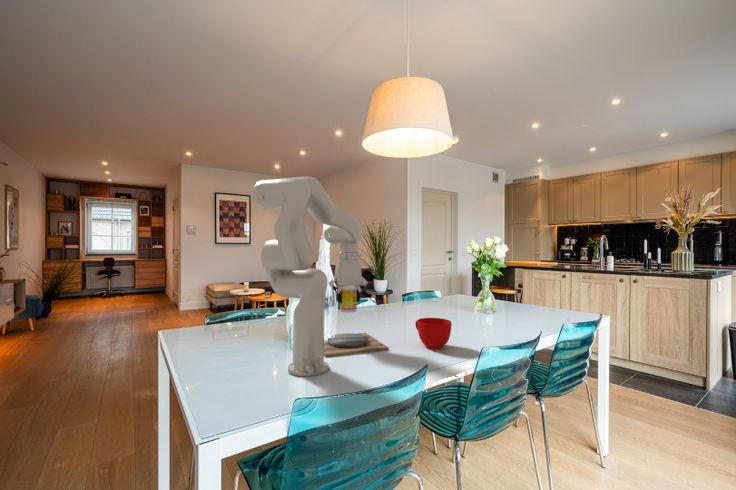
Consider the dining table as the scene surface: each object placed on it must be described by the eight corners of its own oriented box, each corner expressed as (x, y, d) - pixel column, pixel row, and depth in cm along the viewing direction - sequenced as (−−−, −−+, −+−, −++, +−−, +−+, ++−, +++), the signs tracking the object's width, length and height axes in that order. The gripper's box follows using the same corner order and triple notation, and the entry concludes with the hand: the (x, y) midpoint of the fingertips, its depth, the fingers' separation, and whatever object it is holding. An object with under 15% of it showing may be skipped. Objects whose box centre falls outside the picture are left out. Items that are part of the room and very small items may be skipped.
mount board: (388, 350, 130) (388, 343, 130) (325, 357, 121) (325, 350, 121) (365, 335, 152) (365, 329, 152) (311, 340, 144) (311, 334, 144)
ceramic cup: (427, 338, 147) (427, 314, 147) (458, 348, 133) (458, 322, 133) (403, 343, 140) (403, 318, 140) (433, 354, 126) (433, 326, 126)
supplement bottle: (354, 313, 133) (354, 279, 133) (337, 312, 135) (337, 279, 135) (358, 310, 140) (358, 278, 140) (342, 309, 141) (342, 277, 141)
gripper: (365, 256, 144) (365, 299, 144) (324, 256, 137) (324, 302, 137) (372, 257, 137) (372, 302, 137) (329, 257, 130) (329, 305, 130)
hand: (348, 302), depth 137 cm, fingers closed on supplement bottle, 6 cm apart
